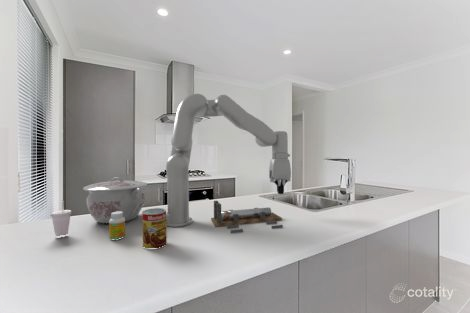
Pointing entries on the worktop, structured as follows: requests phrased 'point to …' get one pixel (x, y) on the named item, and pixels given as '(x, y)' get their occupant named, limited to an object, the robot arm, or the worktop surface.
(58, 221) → the smoothie
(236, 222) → the brown board
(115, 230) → the supplement bottle
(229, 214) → the tube
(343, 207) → the worktop surface
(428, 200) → the worktop surface
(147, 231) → the canned food
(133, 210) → the chamber pot
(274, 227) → the set of grey slats
